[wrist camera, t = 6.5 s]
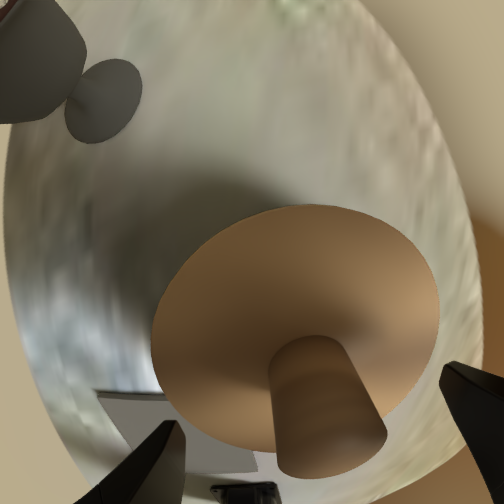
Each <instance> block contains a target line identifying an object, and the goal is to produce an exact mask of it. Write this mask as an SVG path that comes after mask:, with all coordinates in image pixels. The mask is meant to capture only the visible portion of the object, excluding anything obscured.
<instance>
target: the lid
mask: <svg viewBox="0 0 504 504" xmlns="http://www.w3.org/2000/svg"><path fill="white" fill-rule="evenodd" d="M439 319H440V308H439V297H438V291H437V286H436V283H435V280H434V277H433V274H432V272H431V270H430V268H429V266H428V264H427V262H426V260H425V259H424V257H423V256H422V254H421V253H420V252H419V250H418V249H417V248H416V247H415V245H414V244H413V243H412V242H411V241H410V240H409V239H407V238H406V237H405V236H404V235H403V234H402V233H401V232H400V231H398V230H396V229H395V228H393V227H392V226H390V225H388V224H387V223H385V222H384V221H381V220H379V219H377V218H374V217H372V216H369V215H367V214H364V213H361V212H358V211H354V210H350V209H346V208H341V207H337V206H330V205H316V204H307V205H293V206H286V207H281V208H276V209H272V210H267V211H264V212H261V213H258V214H255V215H253V216H250V217H247V218H244V219H242V220H240V221H238V222H236V223H235V224H233V225H231V226H229V227H227V228H225V229H223V230H222V231H220V232H219V233H217V234H216V235H215V236H213V237H212V238H211V239H209V240H208V241H206V242H205V243H204V244H203V245H202V246H201V247H199V248H198V249H197V250H196V251H195V252H194V253H193V254H192V255H191V256H190V257H189V258H188V259H187V261H186V262H185V263H184V264H183V266H182V267H181V268H180V270H179V271H178V272H177V274H176V275H175V276H174V278H173V279H172V280H171V282H170V283H169V285H168V286H167V288H166V290H165V292H164V294H163V296H162V298H161V300H160V302H159V304H158V307H157V310H156V313H155V316H154V319H153V325H152V332H151V357H152V363H153V368H154V372H155V374H156V377H157V380H158V383H159V385H160V387H161V389H162V390H163V392H164V394H165V396H166V398H167V399H168V400H169V402H170V403H171V404H172V406H173V407H174V408H175V409H176V411H177V412H178V413H179V414H180V415H181V416H182V417H183V418H184V419H185V420H187V421H188V422H189V423H190V424H192V425H193V426H194V427H196V428H197V429H199V430H200V431H202V432H203V433H205V434H207V435H209V436H210V437H212V438H215V439H217V440H219V441H221V442H223V443H226V444H229V445H232V446H235V447H239V448H243V449H247V450H252V451H260V452H270V453H276V454H277V463H278V467H279V469H280V470H281V471H282V472H283V473H285V474H286V475H289V476H291V477H295V478H300V479H319V478H326V477H331V476H335V475H339V474H342V473H345V472H347V471H350V470H352V469H354V468H356V467H358V466H360V465H362V464H363V463H365V462H366V461H368V460H369V459H371V458H372V457H373V456H374V455H375V454H376V453H377V452H378V451H379V450H380V449H381V448H382V447H383V445H384V443H385V441H386V439H387V429H386V427H385V425H384V423H383V421H382V418H383V417H384V416H386V415H387V414H388V413H389V412H391V411H392V410H393V409H394V408H395V407H396V406H397V405H398V404H399V403H400V402H401V401H402V400H403V399H404V398H405V397H406V396H407V394H408V393H409V392H410V391H411V389H412V388H413V387H414V386H415V384H416V383H417V381H418V380H419V378H420V377H421V375H422V373H423V371H424V369H425V368H426V366H427V364H428V362H429V359H430V357H431V354H432V352H433V349H434V346H435V342H436V338H437V334H438V328H439Z"/></svg>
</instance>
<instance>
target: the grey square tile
mask: <svg viewBox="0 0 504 504" xmlns="http://www.w3.org/2000/svg"><path fill="white" fill-rule="evenodd" d="M97 398H98V400H99V402H100V403H101V405H102V407H103V408H104V410H105V411H106V413H107V414H108V416H109V417H110V419H111V420H112V422H113V423H114V425H115V426H116V428H117V429H118V431H119V432H120V433H121V435H122V436H123V438H124V439H125V440H126V442H127V443H128V444H129V446H130V447H131V448H132V449H133V451H134V450H135V449H136V448H137V447H138V446H139V445H140V444H141V443H142V442H143V441H144V440H145V439H146V438H147V437H148V436H149V435H150V434H151V433H152V432H153V431H154V430H155V429H156V428H157V427H158V426H159V425H160V424H161V423H162V422H163V421H164V420H177V421H178V422H179V424H180V426H181V428H182V430H183V432H184V433H185V436H186V461H185V473H199V474H227V473H248V472H258V466H257V463H256V461H255V458H254V455H253V452H252V450H247V449H243V448H239V447H235V446H232V445H229V444H226V443H223V442H221V441H219V440H217V439H215V438H212V437H210V436H209V435H207V434H205V433H203V432H202V431H200V430H199V429H197V428H196V427H194V426H193V425H192V424H190V423H189V422H188V421H187V420H185V419H184V418H183V417H182V416H181V415H180V414H179V413H178V412H177V411H176V409H175V408H174V407H173V406H172V404H171V403H170V402H169V400H168V399H167V398H166V396H165V395H134V394H115V393H102V392H100V393H99V395H98V396H97Z"/></svg>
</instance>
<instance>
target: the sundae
mask: <svg viewBox="0 0 504 504" xmlns="http://www.w3.org/2000/svg"><path fill="white" fill-rule="evenodd" d="M86 57H87V49H86V45H85V41H84V40H83V38H82V36H81V35H80V33H79V31H78V29H77V28H76V26H75V24H74V23H73V22H72V20H71V19H70V18H69V17H68V15H67V14H66V13H65V12H64V11H63V10H62V8H61V7H60V6H59V5H58V4H57V2H56V1H55V0H0V124H13V123H20V122H28V121H35V120H39V119H42V118H45V117H46V116H48V115H49V114H50V113H52V112H53V111H54V110H55V109H56V108H57V107H58V106H60V105H61V104H62V103H63V102H64V101H65V100H66V99H67V103H66V108H65V118H66V123H67V127H68V129H69V131H70V133H71V134H72V135H73V136H74V137H75V139H77V140H79V141H81V142H84V143H87V144H88V143H99V142H103V141H105V140H107V139H109V138H111V137H112V136H114V135H116V134H117V133H118V132H119V131H120V130H121V129H122V128H124V127H125V125H126V124H127V123H128V122H129V121H130V120H131V118H132V116H133V114H134V113H135V111H136V109H137V107H138V105H139V102H140V98H141V93H142V81H141V77H140V74H139V71H138V70H137V69H136V67H135V66H134V65H132V64H131V63H130V62H128V61H125V60H121V59H110V60H105V61H102V62H99V63H98V64H96V65H94V66H92V67H91V68H90V69H88V70H87V71H86V72H85V73H84V74H83V75H82V72H83V68H84V64H85V60H86ZM81 75H82V76H81ZM67 97H68V98H67Z"/></svg>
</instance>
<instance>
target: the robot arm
mask: <svg viewBox="0 0 504 504" xmlns="http://www.w3.org/2000/svg"><path fill="white" fill-rule="evenodd" d="M439 387H440V389H441V392H442V394H443V396H444V398H445V401H446V403H447V405H448V408H449V410H450V412H451V415H452V417H453V419H454V421H455V423H456V425H457V427H458V428H459V430H460V432H461V434H462V436H463V438H464V440H465V441H466V443H467V445H468V447H469V449H470V451H471V453H472V455H473V457H474V459H475V461H476V463H477V465H478V467H479V469H480V472H481V474H482V476H483V479H484V481H485V483H486V485H487V488H488V490H489V492H490V494H491V498H492V500H493V503H494V504H504V378H503V377H500V376H497V375H494V374H491V373H488V372H485V371H482V370H479V369H476V368H474V367H471V366H468V365H465V364H462V363H460V362H457V361H451V362H449V363H447V364H445V365H444V367H443V369H442V373H441V376H440V380H439ZM185 461H186V436H185V433H184V432H183V430H182V428H181V426H180V424H179V422H178V421H177V420H164V421H163V422H162V423H161V424H160V425H159V426H158V427H157V428H156V429H155V430H154V431H153V432H152V433H151V434H150V435H149V436H148V437H147V438H146V439H145V440H144V441H143V442H142V443H141V444H140V445H139V446H138V447H137V448H136V449H135V450H134V451H133V452H132V453H130V454H129V455H128V456H127V457H126V458H125V459H124V460H123V461H122V462H121V463H120V464H119V465H118V466H117V467H116V468H115V469H114V470H113V471H111V472H110V473H109V474H108V475H107V476H106V477H105V478H104V479H103V480H102V481H101V482H99V484H97V485H96V486H95V487H94V488H93V489H92V490H90V491H89V492H88V493H87V494H86V495H84V496H83V497H82V498H81V499H79V500H78V501H76V502H75V503H73V504H181V501H182V495H183V488H184V481H185ZM210 491H211V493H212V494H213V495H214V496H215V498H216V499H217V500H218V501H219V503H220V504H282V501H281V497H280V493H279V490H278V486H277V484H274V483H271V484H261V485H247V486H212V487H211V488H210Z"/></svg>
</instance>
